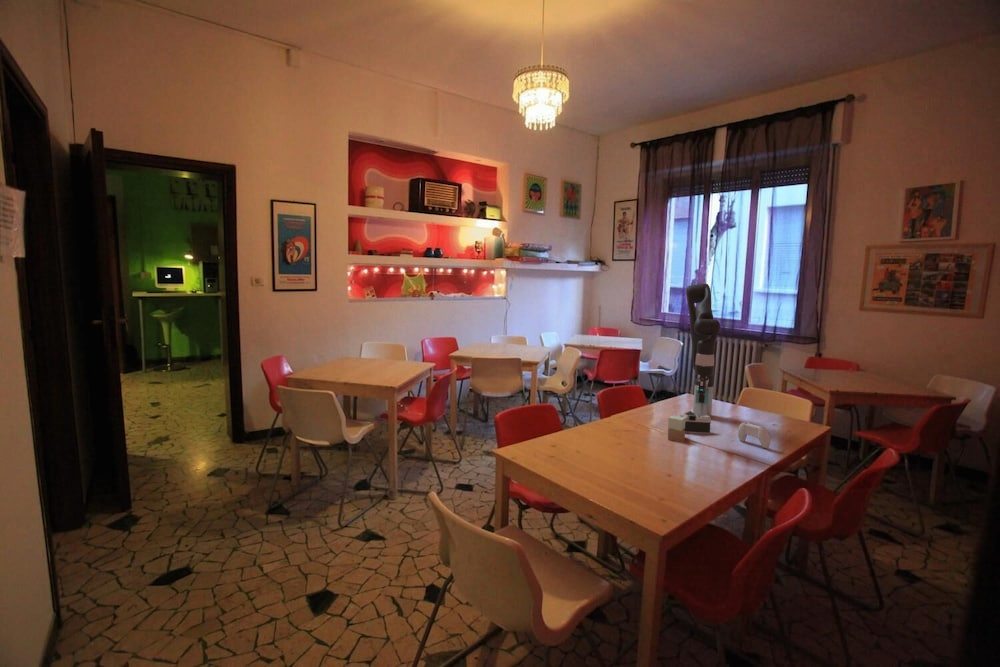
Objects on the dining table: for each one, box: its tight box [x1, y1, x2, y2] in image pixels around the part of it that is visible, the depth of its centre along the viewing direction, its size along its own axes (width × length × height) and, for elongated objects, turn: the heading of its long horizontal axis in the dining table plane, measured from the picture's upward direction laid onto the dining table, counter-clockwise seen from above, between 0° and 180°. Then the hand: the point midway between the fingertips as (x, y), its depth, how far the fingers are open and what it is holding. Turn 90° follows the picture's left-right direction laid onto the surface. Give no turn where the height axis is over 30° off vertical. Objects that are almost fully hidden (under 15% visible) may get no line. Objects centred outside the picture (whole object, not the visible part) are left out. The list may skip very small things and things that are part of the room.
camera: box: [678, 410, 712, 434], centre depth 230 cm, size 16×9×10 cm, turn 84°
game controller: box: [737, 421, 771, 450], centre depth 211 cm, size 14×4×10 cm, turn 31°
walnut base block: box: [667, 428, 686, 443], centre depth 218 cm, size 7×7×5 cm
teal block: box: [695, 388, 710, 405], centre depth 211 cm, size 5×5×6 cm
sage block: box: [667, 415, 686, 431], centre depth 218 cm, size 6×6×5 cm
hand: (702, 401), depth 211 cm, fingers closed on teal block, 5 cm apart
